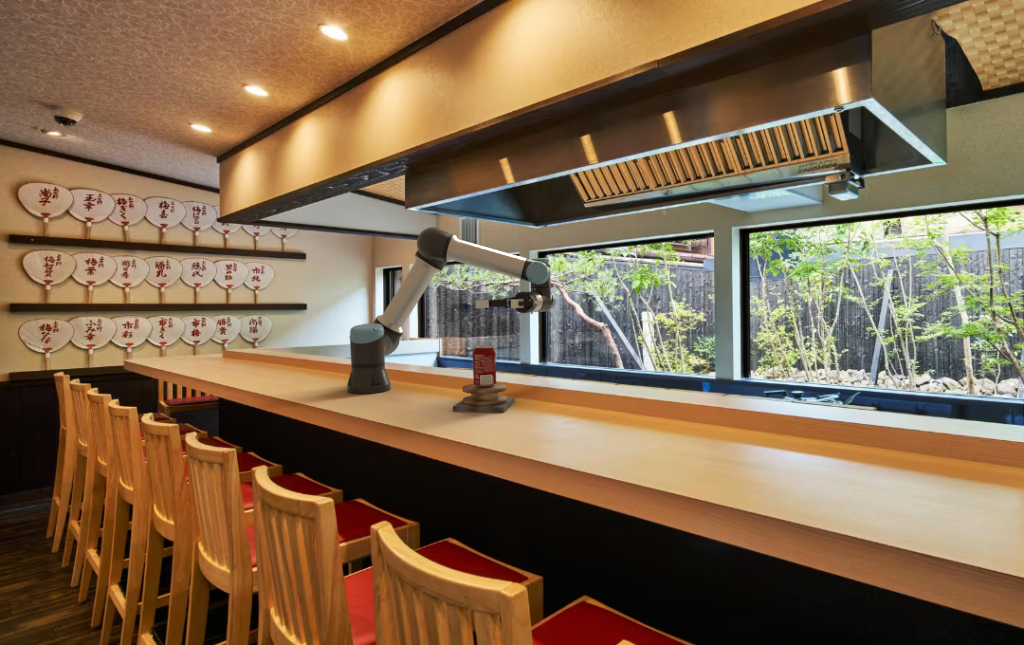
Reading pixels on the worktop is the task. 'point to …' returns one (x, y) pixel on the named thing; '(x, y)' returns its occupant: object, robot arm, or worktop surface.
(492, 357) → the soda can
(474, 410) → the spool
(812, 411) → the worktop surface
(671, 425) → the worktop surface
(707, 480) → the worktop surface
